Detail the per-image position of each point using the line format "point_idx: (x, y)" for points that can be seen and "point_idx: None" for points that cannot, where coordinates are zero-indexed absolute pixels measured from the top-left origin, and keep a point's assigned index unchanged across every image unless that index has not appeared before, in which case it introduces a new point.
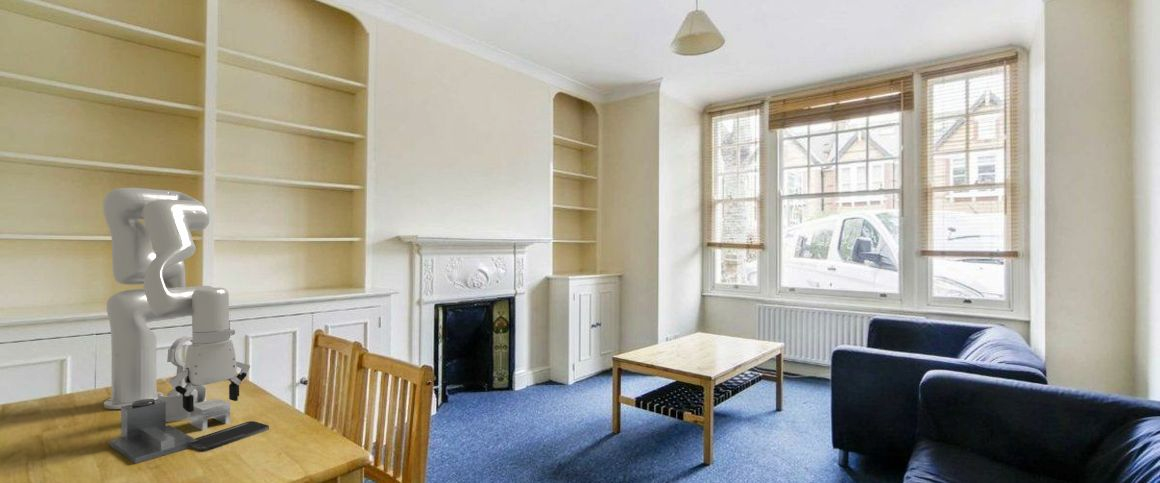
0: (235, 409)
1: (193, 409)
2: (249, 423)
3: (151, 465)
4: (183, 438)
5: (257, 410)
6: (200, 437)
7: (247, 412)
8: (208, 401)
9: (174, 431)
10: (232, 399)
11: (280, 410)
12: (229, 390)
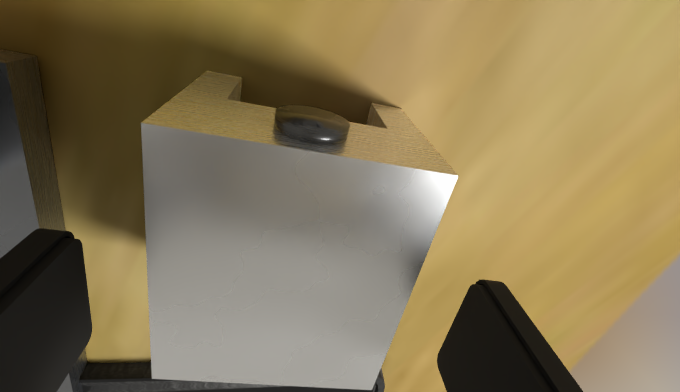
0: (583, 59)
1: (83, 346)
2: None
3: None
4: None
5: (575, 220)
6: (121, 379)
7: (531, 201)
8: (328, 201)
9: (12, 243)
10: (452, 337)
11: (585, 317)
12: (517, 368)
